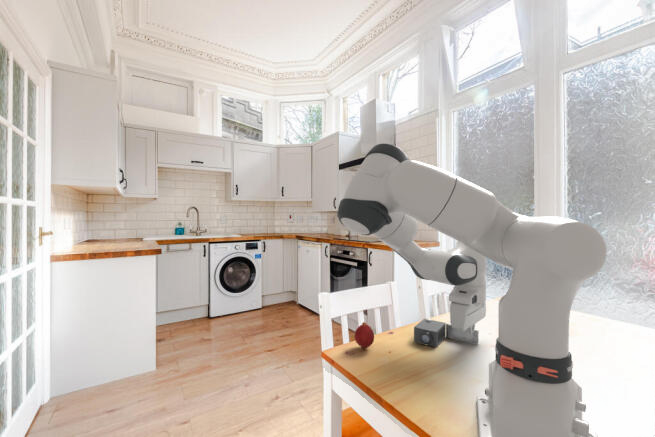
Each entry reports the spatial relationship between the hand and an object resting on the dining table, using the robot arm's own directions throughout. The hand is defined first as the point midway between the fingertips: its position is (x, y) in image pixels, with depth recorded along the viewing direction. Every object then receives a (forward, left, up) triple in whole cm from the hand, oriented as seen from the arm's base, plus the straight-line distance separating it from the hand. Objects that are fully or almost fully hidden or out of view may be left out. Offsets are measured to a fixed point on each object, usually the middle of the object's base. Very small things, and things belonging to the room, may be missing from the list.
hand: (469, 337), depth 90 cm
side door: (+2, +3, -2) cm, 4 cm away
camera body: (-3, +11, -2) cm, 12 cm away
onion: (-22, +24, -2) cm, 33 cm away
